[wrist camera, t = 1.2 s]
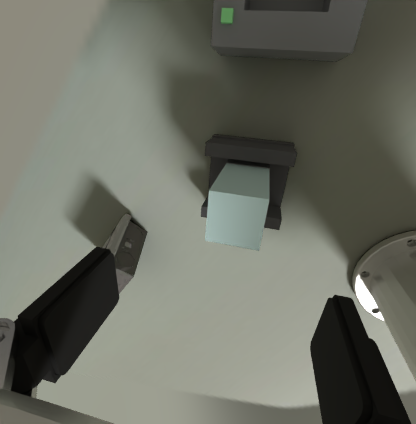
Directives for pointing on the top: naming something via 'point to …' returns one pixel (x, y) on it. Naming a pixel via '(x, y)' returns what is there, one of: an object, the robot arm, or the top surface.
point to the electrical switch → (126, 249)
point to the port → (287, 28)
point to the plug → (238, 204)
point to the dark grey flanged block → (256, 152)
